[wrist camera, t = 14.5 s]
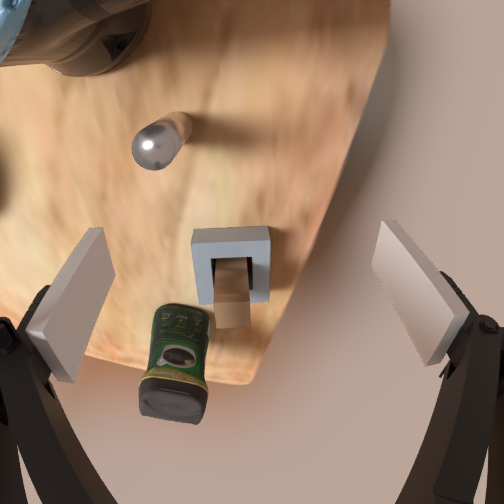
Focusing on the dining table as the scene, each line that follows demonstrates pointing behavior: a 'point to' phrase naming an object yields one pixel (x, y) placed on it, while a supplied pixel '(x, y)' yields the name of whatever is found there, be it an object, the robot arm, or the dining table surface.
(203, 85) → the dining table surface
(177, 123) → the round bit
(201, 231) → the bore block
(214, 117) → the dining table surface
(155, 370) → the coffee jar
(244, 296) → the square bit
